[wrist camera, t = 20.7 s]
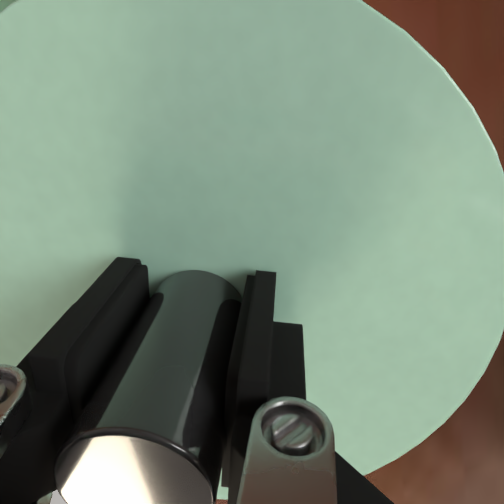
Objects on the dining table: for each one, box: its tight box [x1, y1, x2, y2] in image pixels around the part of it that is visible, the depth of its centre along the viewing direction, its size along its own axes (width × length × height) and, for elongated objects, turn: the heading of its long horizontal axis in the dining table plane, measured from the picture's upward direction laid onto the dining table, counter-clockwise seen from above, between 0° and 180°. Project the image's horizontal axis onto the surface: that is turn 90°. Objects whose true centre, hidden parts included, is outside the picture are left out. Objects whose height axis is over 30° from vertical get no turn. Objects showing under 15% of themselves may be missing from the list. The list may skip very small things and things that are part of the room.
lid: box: [0, 0, 504, 504], centre depth 9 cm, size 16×16×6 cm
